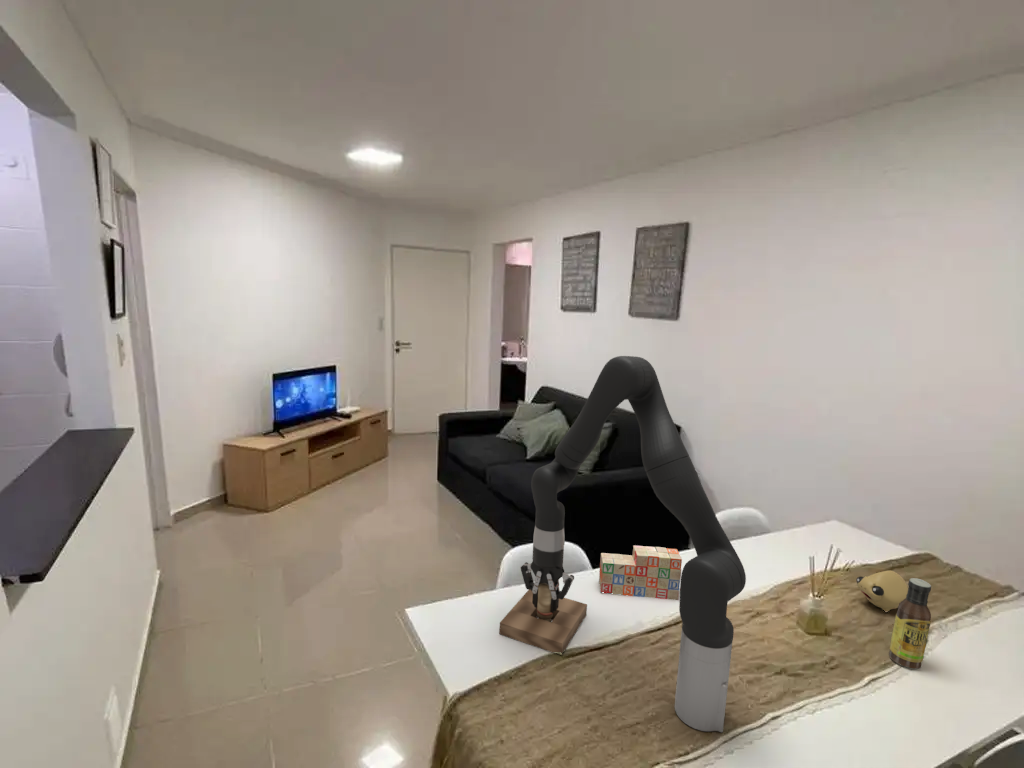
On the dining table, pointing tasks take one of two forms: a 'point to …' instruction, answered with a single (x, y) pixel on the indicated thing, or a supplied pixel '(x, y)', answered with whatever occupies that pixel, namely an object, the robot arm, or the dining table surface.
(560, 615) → the board
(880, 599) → the tan toy head
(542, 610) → the peg
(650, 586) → the stack of blocks
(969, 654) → the dining table surface
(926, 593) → the sauce bottle
